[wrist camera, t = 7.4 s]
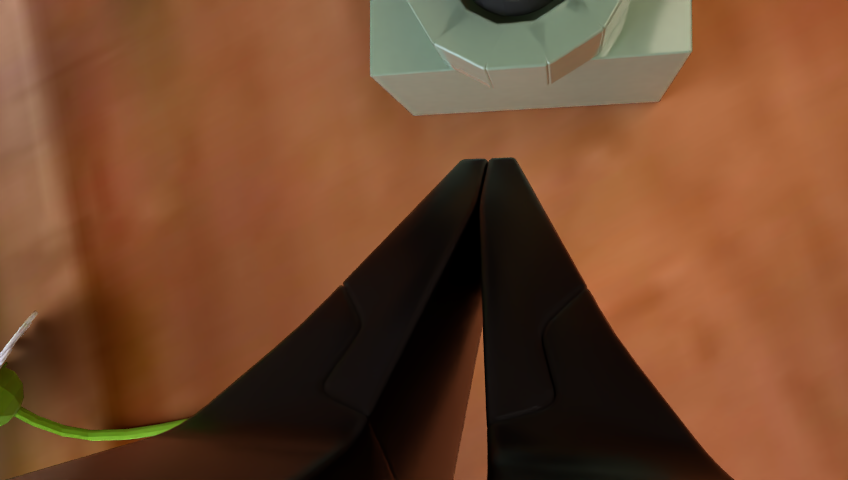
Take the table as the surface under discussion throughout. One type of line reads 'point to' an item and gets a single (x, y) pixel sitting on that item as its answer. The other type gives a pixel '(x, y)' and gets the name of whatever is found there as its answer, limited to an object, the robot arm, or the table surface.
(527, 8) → the button
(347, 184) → the table surface
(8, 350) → the decorative flower
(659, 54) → the lamp base
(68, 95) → the table surface
